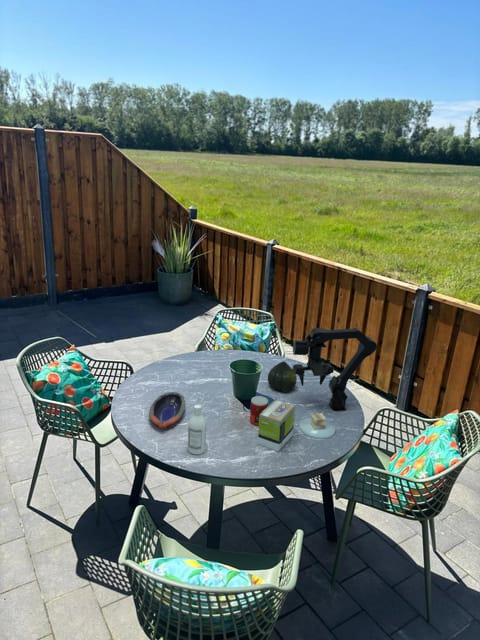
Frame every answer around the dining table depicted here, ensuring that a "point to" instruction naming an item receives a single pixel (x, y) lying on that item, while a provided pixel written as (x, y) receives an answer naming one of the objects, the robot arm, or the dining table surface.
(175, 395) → the dish
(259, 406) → the canned food
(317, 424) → the beech cube
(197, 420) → the bath foam
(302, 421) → the ceramic plate
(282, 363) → the squash
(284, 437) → the tea box
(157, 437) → the dining table surface
